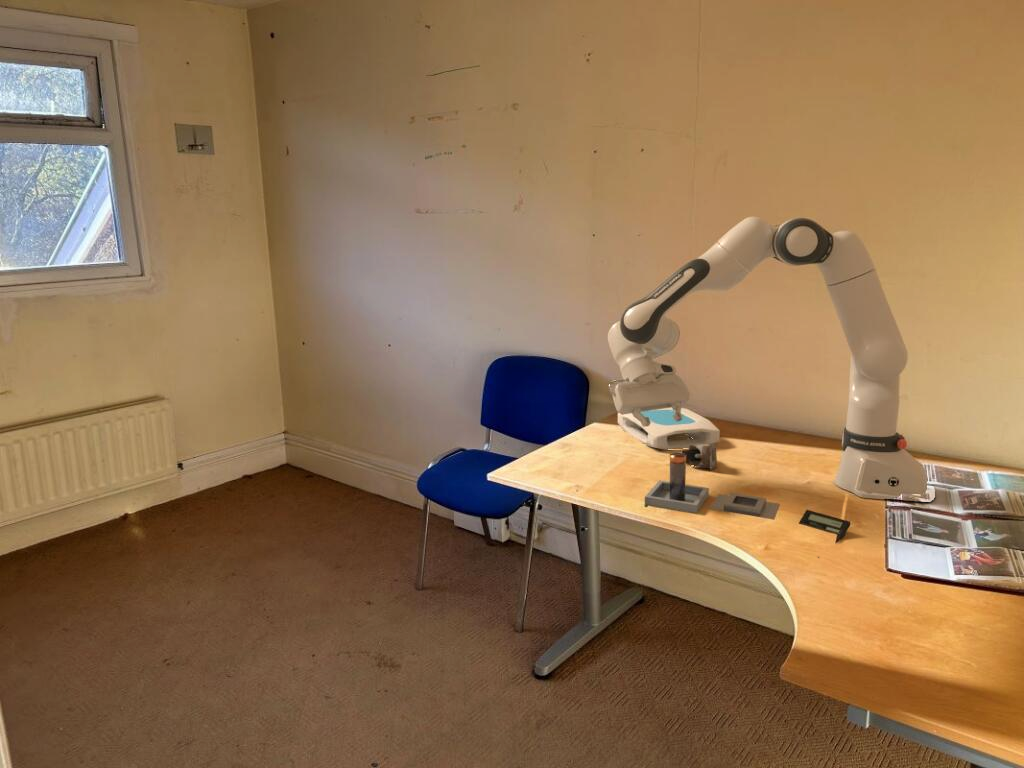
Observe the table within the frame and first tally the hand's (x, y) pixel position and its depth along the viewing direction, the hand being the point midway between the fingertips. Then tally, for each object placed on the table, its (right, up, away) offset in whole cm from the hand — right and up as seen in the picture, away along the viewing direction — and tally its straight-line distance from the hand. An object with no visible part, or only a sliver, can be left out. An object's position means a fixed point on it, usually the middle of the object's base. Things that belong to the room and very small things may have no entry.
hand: (663, 422), depth 182 cm
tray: (+2, -18, -8) cm, 20 cm away
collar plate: (+16, -19, -12) cm, 28 cm away
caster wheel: (+13, -13, +18) cm, 26 cm away
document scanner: (+10, -7, +45) cm, 47 cm away
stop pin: (+2, -18, -8) cm, 19 cm away
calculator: (+27, -23, -26) cm, 44 cm away
